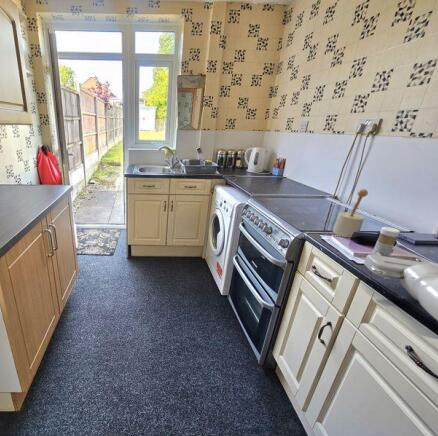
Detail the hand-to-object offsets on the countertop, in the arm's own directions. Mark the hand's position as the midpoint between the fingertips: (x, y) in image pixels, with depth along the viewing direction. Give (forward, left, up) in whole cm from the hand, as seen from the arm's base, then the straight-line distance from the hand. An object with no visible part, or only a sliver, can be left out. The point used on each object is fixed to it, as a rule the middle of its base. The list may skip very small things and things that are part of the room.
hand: (396, 257), depth 77 cm
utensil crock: (+2, -34, -7) cm, 35 cm away
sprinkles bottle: (0, -8, -7) cm, 11 cm away
